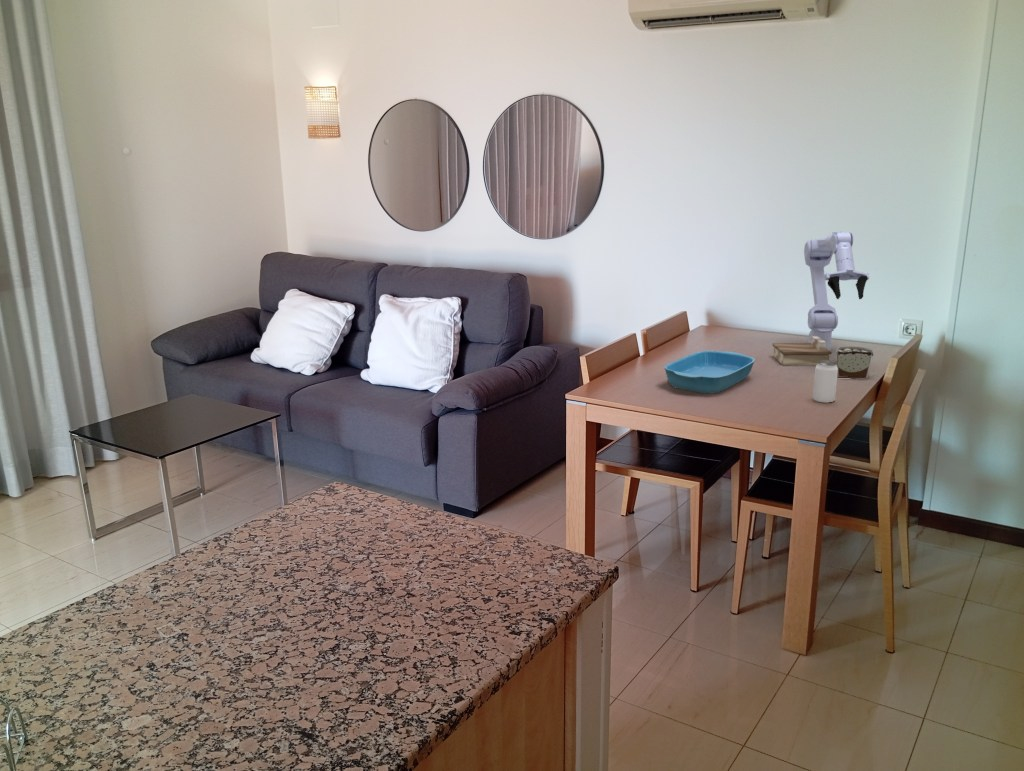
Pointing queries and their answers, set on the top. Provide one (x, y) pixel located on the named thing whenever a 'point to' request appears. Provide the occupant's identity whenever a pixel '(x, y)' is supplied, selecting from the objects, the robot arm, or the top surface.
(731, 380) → the casserole dish
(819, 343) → the lid
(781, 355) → the beige open tray
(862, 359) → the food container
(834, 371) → the can
